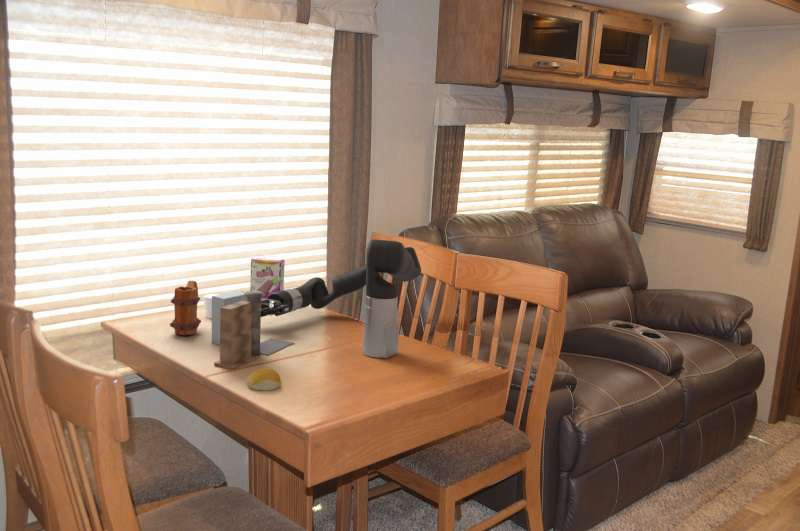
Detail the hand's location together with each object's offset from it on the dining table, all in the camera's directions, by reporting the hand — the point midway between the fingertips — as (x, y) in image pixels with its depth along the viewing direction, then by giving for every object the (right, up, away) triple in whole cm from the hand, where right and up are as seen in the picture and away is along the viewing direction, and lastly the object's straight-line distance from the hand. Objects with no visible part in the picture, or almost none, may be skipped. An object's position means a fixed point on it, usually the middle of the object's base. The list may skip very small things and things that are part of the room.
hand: (249, 311), depth 228 cm
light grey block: (-5, -8, -5) cm, 11 cm away
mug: (-19, -7, +2) cm, 20 cm away
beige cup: (-16, -3, +21) cm, 26 cm away
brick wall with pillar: (+2, -12, -22) cm, 25 cm away
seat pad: (+8, -10, -10) cm, 16 cm away
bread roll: (+12, -16, -41) cm, 45 cm away
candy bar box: (-2, 0, +42) cm, 42 cm away
